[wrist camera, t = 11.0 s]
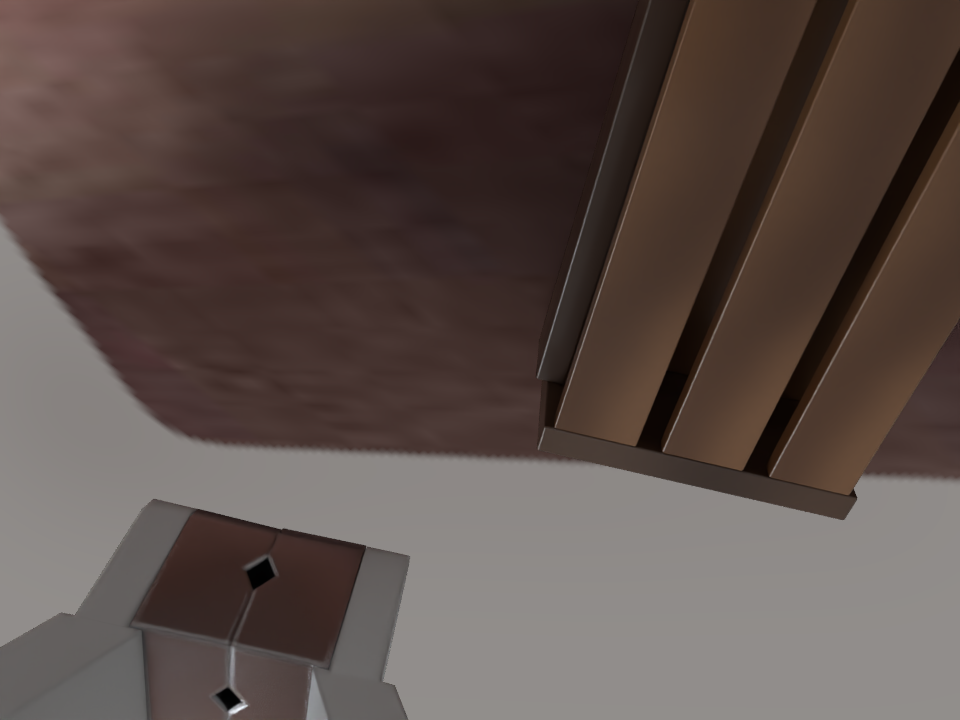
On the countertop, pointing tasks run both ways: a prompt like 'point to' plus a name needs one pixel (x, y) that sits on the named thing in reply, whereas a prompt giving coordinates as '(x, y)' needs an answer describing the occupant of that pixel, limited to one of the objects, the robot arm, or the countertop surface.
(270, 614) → the robot arm
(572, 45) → the countertop surface
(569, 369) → the rack
